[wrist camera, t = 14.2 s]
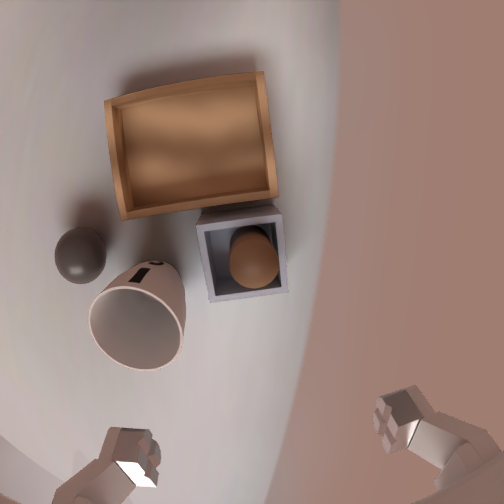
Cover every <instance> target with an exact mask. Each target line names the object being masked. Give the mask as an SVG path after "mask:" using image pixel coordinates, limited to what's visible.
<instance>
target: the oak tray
mask: <svg viewBox="0 0 504 504" xmlns="http://www.w3.org/2000/svg"><path fill="white" fill-rule="evenodd" d="M104 108H105V119H106V129H107V138H108V146H109V154H110V161H111V168H112V174H113V180H114V186H115V192H116V198H117V203H118V208H119V214H120V219H121V221H124V220H130V219H135V218H141V217H146V216H152V215H158V214H164V213H170V212H176V211H182V210H189V209H195V208H202V207H209V206H215V205H223V204H230V203H237V202H245V201H252V200H260V199H268V198H277V197H279V195H278V186H277V176H276V167H275V159H274V150H273V142H272V133H271V125H270V117H269V110H268V102H267V94H266V87H265V80H264V73H263V71H261V72H249V73H239V74H230V75H222V76H214V77H207V78H201V79H195V80H189V81H183V82H178V83H173V84H168V85H163V86H159V87H154V88H150V89H146V90H142V91H138V92H134V93H130V94H126V95H123V96H119V97H116V98H112V99H109V100H106V101H104Z"/></svg>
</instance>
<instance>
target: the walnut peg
mask: <svg viewBox="0 0 504 504" xmlns="http://www.w3.org/2000/svg"><path fill="white" fill-rule="evenodd" d="M278 270H279V258H278V255H277V253H276V251H275V249H274V247H273V245H272V243H271V240H270V238H269V236H268V234H267V233H266V232H265V231H264V230H263V229H262V228H260V227H258V226H255V225H248V226H243V227H240V228H239V229H237V230H236V231H235V232H234V234H233V235H232V237H231V240H230V272H231V274H232V276H233V278H234V279H235V281H236V282H238V283H239V284H240V285H242V286H244V287H247V288H260V287H263V286H266V285H268V284H269V283H270V282H272V281H273V279H274V278H275V277H276V275H277V273H278Z"/></svg>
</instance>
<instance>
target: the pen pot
mask: <svg viewBox="0 0 504 504" xmlns="http://www.w3.org/2000/svg"><path fill="white" fill-rule="evenodd" d="M248 225H255V226H258V227H260V228H262V229H263V230H264V231H265V232H266V233H267V234H268V236H269V238H270V240H271V243H272V245H273V247H274V249H275V251H276V253H277V255H278V258H279V270H278V273H277V275H276V277H275V278H274V279H273V281H272V282H270V283H269V284H268V285H266V286H263V287H260V288H247V287H244V286H242V285H240V284H239V283H238V282H236V281H235V279H234V278H233V276H232V274H231V272H230V240H231V237H232V235H233V234H234V232H235V231H236V230H237V229H239V228H240V227H243V226H248ZM196 230H197V236H198V242H199V248H200V253H201V259H202V264H203V269H204V275H205V280H206V285H207V290H208V295H209V300H210V303H212V302H220V301H228V300H236V299H243V298H251V297H258V296H265V295H272V294H279V293H285V292H289V290H288V277H287V265H286V253H285V242H284V231H283V221H282V214H281V212H280V211H279V210H278V209H277V208H276V207H275V206H274V205H266V206H258V207H250V208H243V209H235V210H228V211H221V212H214V213H207V214H201V216H200V218H199V220H198V222H197V224H196Z"/></svg>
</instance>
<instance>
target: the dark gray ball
mask: <svg viewBox="0 0 504 504" xmlns="http://www.w3.org/2000/svg"><path fill="white" fill-rule="evenodd" d="M55 263H56V266H57V269H58V270H59V272H60V274H61V275H62V276H63V277H64V278H65V279H67V280H68V281H70V282H72V283H76V284H85V283H89V282H91V281H93V280H95V279H96V278H97V277H98V276H99V275H100V274H101V272H102V271H103V269H104V267H105V263H106V249H105V245H104V243H103V241H102V240H101V238H100V237H99V236H98V235H97V234H96V233H95V232H93V231H91V230H89V229H86V228H75V229H72V230H69V231H68V232H66V233H65V234H64V235H63V236H62V237H61V238H60V240H59V241H58V243H57V246H56V249H55Z"/></svg>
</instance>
